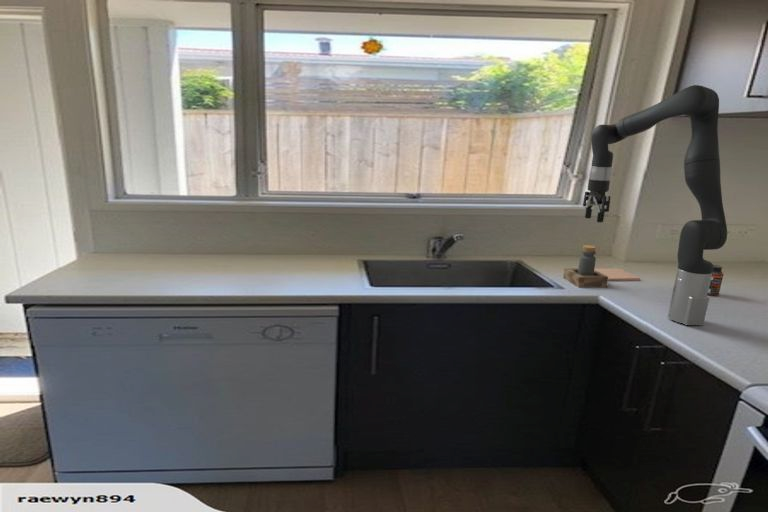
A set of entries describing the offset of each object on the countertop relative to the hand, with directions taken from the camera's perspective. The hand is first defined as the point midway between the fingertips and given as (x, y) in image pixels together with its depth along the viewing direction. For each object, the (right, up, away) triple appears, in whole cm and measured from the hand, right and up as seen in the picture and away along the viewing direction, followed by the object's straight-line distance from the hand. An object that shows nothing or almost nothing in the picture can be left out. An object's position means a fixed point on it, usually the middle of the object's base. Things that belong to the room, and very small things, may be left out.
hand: (593, 220), depth 179 cm
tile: (+16, -23, +16) cm, 32 cm away
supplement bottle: (+43, -29, -4) cm, 52 cm away
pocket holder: (-1, -25, +7) cm, 26 cm away
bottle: (-1, -25, +7) cm, 26 cm away
